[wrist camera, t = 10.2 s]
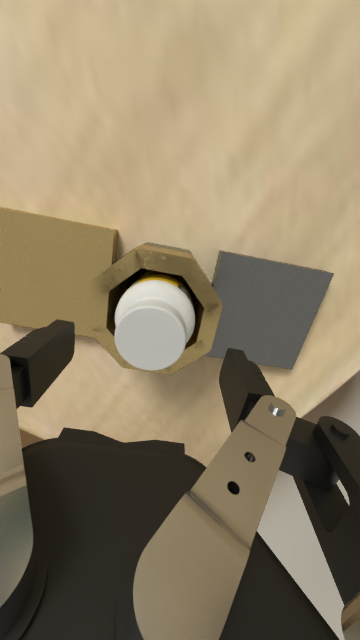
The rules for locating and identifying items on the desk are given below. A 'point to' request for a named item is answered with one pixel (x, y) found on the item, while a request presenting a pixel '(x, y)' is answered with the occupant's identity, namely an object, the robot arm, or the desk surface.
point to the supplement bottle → (154, 320)
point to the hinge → (111, 277)
